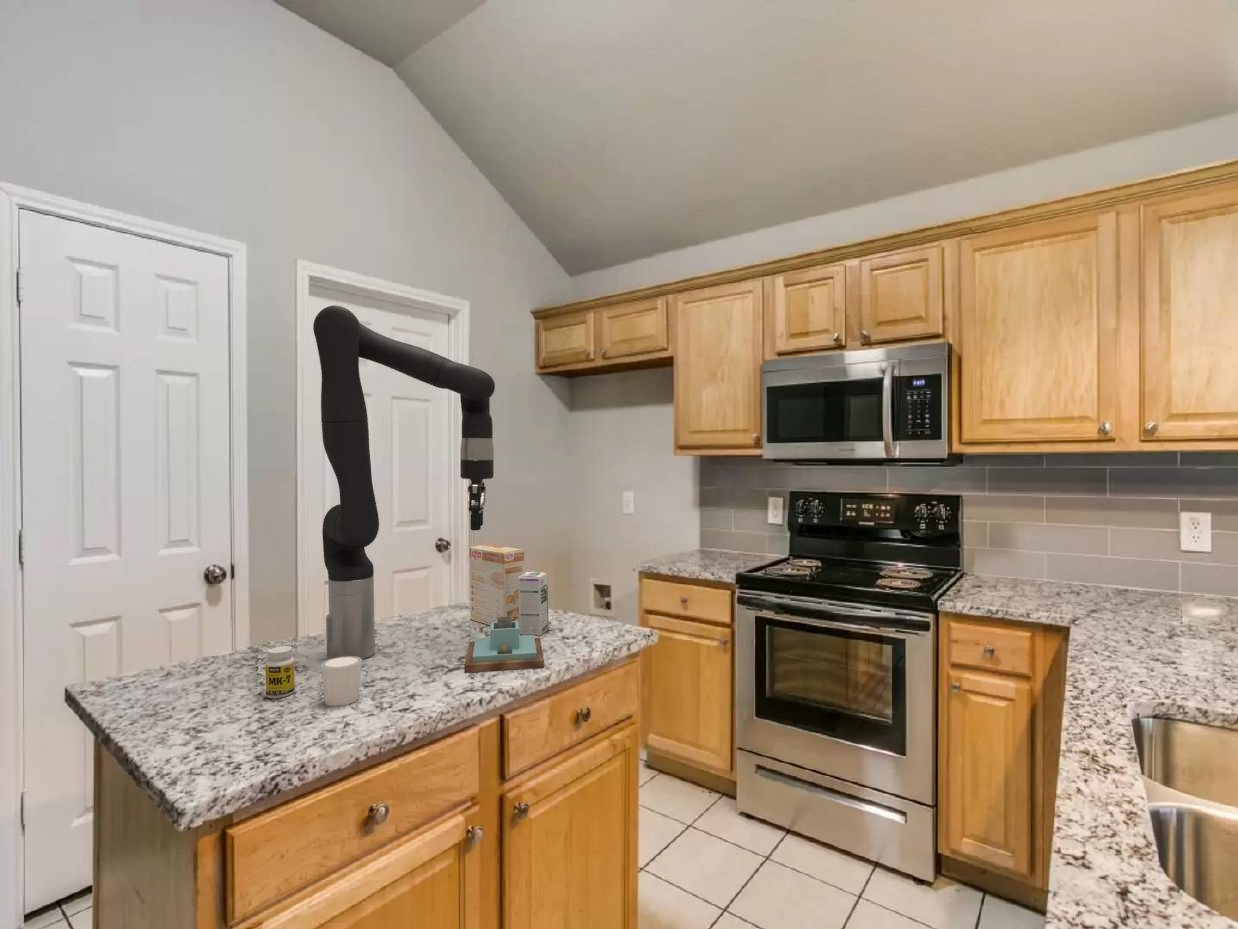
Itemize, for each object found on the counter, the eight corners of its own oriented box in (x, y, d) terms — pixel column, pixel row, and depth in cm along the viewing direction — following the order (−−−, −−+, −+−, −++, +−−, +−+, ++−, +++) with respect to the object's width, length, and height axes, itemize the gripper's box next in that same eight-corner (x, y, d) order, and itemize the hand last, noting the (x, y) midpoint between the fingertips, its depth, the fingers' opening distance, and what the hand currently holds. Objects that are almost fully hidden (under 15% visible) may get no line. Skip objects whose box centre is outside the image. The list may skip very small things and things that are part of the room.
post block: (464, 672, 130) (464, 631, 130) (469, 648, 146) (468, 611, 145) (544, 667, 133) (543, 626, 132) (540, 644, 148) (539, 607, 148)
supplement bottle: (265, 701, 116) (264, 654, 116) (266, 692, 120) (265, 647, 120) (295, 696, 118) (294, 650, 118) (294, 687, 123) (293, 644, 122)
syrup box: (541, 636, 155) (541, 576, 154) (518, 635, 156) (517, 575, 156) (548, 629, 160) (548, 571, 160) (526, 628, 162) (525, 571, 161)
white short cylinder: (353, 689, 121) (352, 653, 121) (368, 699, 116) (368, 661, 116) (315, 700, 117) (314, 661, 116) (329, 710, 112) (329, 671, 111)
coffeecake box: (526, 624, 165) (525, 549, 164) (503, 630, 160) (502, 552, 159) (491, 614, 175) (490, 543, 175) (469, 619, 170) (468, 546, 169)
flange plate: (475, 643, 144) (475, 619, 144) (533, 640, 147) (533, 616, 147) (472, 662, 132) (472, 635, 132) (536, 658, 134) (536, 632, 134)
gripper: (463, 457, 155) (463, 524, 156) (457, 458, 141) (457, 531, 142) (494, 458, 157) (494, 524, 157) (492, 458, 142) (491, 531, 143)
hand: (476, 528), depth 149 cm, fingers open, 8 cm apart
